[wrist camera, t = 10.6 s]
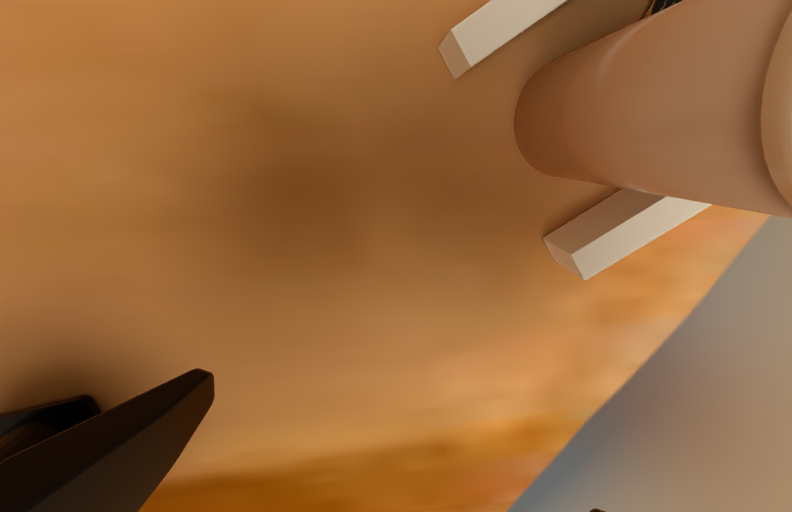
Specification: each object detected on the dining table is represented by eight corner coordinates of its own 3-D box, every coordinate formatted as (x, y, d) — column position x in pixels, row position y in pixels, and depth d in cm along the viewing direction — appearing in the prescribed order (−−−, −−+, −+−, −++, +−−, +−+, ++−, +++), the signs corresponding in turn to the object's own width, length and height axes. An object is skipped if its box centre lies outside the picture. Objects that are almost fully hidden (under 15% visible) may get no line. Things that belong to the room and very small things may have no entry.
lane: (554, 261, 20) (611, 298, 15) (437, 48, 17) (462, 11, 12) (927, 32, 18) (1132, -8, 13) (876, -264, 14) (1123, -463, 10)
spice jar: (500, 171, 18) (766, 226, 6) (527, 42, 17) (961, -243, 4) (609, 186, 19) (1058, 265, 7) (645, 62, 17) (1324, -140, 5)
